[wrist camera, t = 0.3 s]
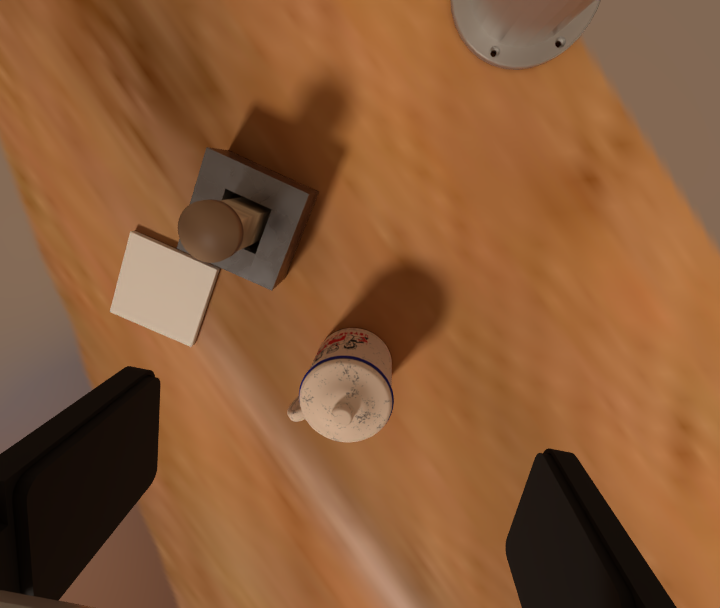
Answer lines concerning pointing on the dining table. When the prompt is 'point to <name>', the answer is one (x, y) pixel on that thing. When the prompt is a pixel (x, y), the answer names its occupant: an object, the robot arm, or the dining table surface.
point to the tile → (163, 288)
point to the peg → (221, 227)
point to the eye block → (283, 195)
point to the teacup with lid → (347, 387)
